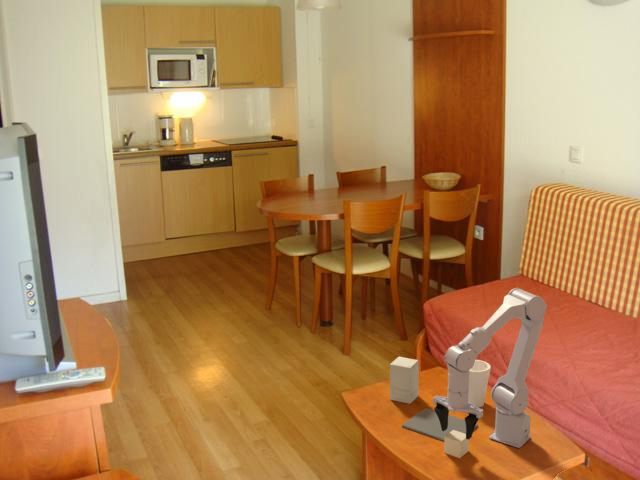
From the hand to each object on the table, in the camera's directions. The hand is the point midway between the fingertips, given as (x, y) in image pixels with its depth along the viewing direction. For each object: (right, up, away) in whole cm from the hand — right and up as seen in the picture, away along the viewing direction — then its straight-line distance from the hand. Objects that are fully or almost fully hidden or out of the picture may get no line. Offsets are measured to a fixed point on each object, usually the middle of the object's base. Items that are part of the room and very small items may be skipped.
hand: (456, 433), depth 205 cm
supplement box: (-11, +2, +35) cm, 36 cm away
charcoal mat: (-2, -2, +16) cm, 16 cm away
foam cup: (+11, +2, +30) cm, 32 cm away
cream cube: (0, -6, +1) cm, 6 cm away
